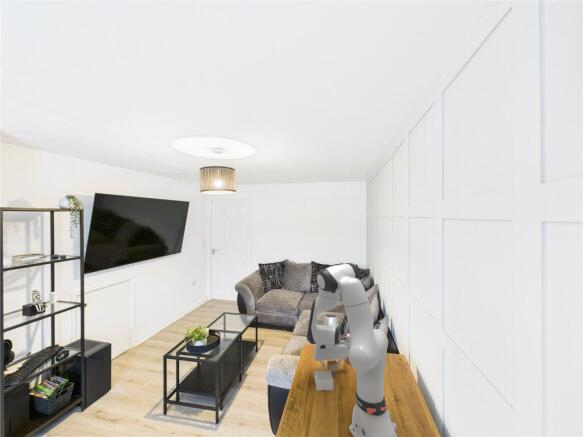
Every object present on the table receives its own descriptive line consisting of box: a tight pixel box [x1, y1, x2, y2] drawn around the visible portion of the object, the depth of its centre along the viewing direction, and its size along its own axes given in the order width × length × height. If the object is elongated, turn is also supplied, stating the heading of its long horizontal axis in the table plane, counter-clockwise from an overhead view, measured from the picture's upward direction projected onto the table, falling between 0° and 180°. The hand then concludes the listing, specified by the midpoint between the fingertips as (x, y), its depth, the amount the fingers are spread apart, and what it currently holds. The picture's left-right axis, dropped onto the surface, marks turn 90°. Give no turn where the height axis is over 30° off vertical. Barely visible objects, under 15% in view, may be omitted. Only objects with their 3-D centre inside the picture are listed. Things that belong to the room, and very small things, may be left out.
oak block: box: [326, 359, 339, 377], centre depth 143 cm, size 5×5×6 cm
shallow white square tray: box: [313, 370, 335, 392], centre depth 133 cm, size 9×9×5 cm
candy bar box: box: [345, 333, 351, 364], centre depth 154 cm, size 11×5×16 cm, turn 84°
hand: (330, 366), depth 143 cm, fingers open, 8 cm apart
